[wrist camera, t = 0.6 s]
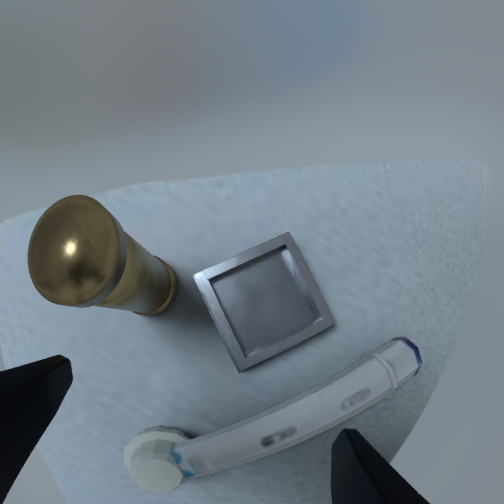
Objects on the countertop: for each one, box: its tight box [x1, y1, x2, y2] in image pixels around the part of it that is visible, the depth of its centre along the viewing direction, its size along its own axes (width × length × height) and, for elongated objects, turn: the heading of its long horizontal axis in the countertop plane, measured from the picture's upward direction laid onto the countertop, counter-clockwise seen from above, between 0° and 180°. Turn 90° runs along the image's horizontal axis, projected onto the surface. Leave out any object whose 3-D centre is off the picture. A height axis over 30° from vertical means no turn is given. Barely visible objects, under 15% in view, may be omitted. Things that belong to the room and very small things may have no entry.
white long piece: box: [123, 337, 422, 493], centre depth 19 cm, size 5×7×25 cm
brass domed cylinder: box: [28, 195, 178, 316], centre depth 17 cm, size 5×5×13 cm
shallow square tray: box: [193, 232, 335, 373], centre depth 22 cm, size 8×8×2 cm
